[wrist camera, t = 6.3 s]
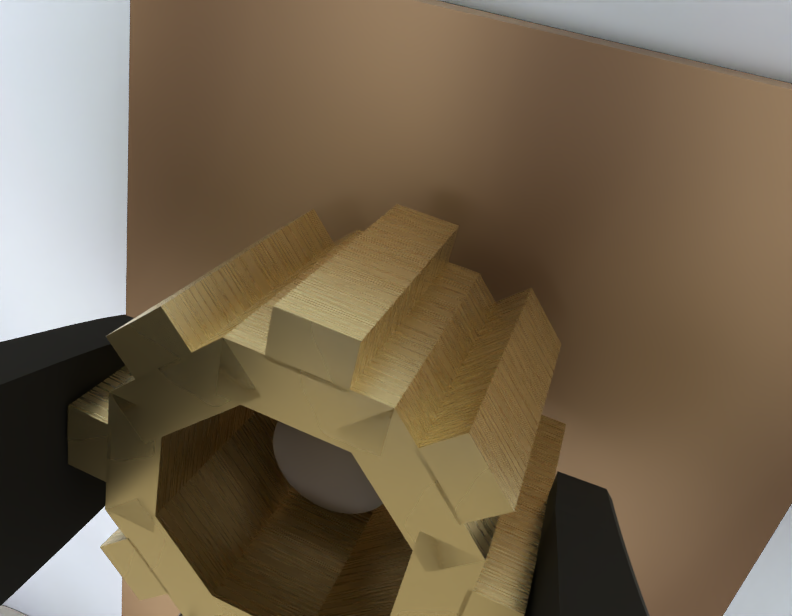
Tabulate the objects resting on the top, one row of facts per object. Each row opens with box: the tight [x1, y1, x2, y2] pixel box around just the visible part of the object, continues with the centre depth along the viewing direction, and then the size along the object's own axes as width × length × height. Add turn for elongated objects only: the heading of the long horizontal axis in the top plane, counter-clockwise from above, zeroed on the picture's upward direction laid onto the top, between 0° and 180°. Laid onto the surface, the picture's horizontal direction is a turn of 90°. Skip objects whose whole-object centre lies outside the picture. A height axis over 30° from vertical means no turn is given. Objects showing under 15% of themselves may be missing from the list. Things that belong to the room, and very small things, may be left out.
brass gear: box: [68, 204, 566, 616], centre depth 9 cm, size 6×6×4 cm
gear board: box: [122, 0, 792, 616], centre depth 13 cm, size 12×18×4 cm, turn 170°
